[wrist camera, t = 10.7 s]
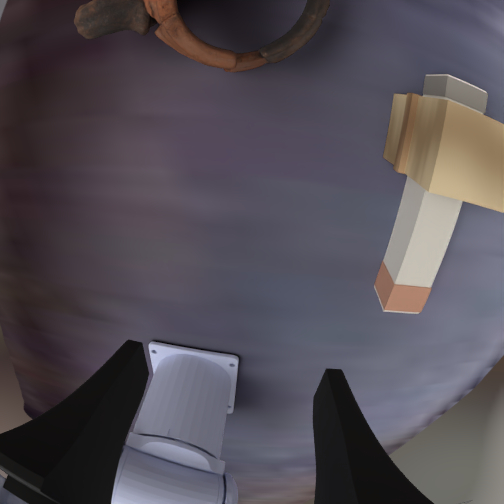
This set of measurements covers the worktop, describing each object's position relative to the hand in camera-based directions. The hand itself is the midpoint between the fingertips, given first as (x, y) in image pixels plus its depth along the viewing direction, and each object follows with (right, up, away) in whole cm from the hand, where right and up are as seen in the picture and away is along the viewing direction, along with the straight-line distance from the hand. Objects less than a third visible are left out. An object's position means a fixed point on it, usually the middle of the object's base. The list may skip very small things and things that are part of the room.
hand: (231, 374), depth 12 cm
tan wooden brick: (+12, +12, +4) cm, 17 cm away
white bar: (+12, +8, +6) cm, 16 cm away
